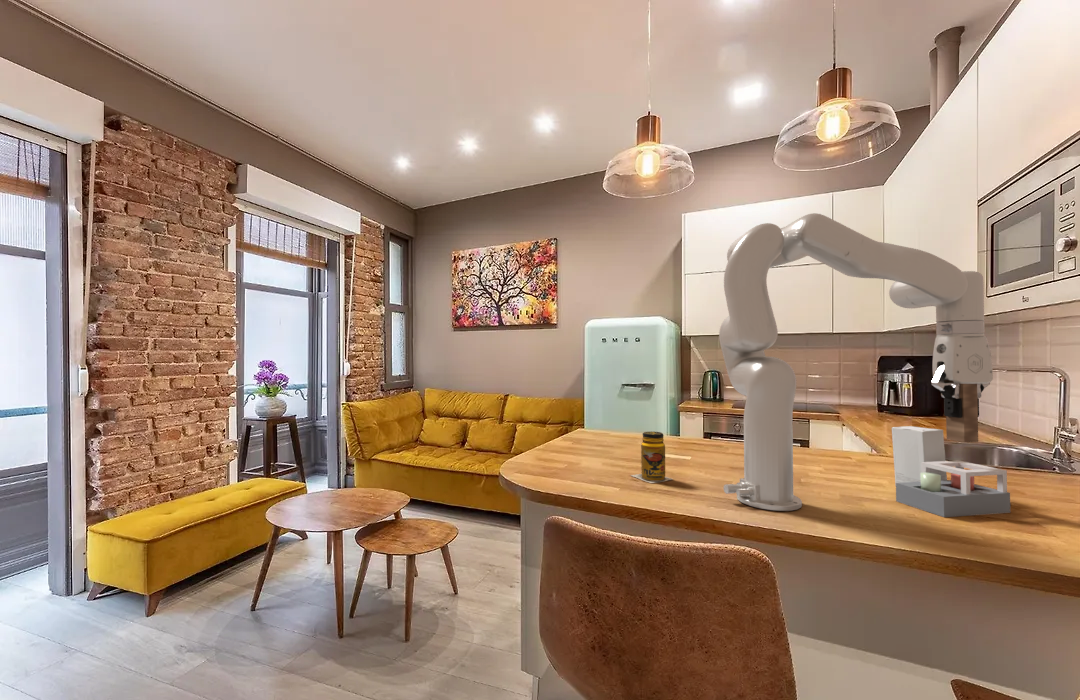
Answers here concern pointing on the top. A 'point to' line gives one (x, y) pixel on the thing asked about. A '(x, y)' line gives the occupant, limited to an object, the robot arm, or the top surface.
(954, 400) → the robot arm
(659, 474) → the condiment
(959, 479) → the plunger
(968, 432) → the wooden block
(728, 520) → the top surface
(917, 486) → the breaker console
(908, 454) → the skincare box
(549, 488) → the top surface
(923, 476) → the on button
